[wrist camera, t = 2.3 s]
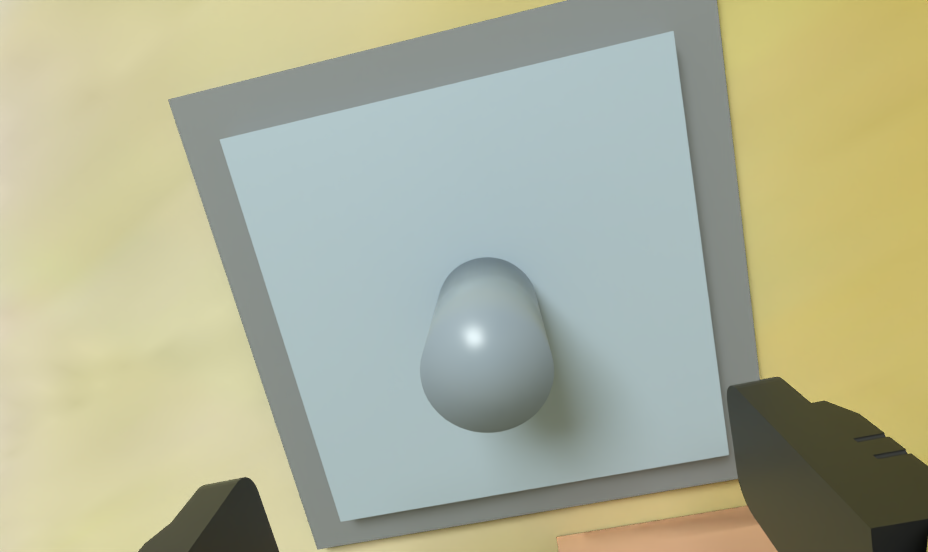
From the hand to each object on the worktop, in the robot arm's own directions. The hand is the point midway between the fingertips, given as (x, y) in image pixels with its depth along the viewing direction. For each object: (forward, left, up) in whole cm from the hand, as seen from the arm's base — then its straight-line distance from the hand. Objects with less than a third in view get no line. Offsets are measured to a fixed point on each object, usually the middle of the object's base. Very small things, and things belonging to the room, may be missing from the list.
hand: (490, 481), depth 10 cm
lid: (0, 0, -10) cm, 10 cm away
